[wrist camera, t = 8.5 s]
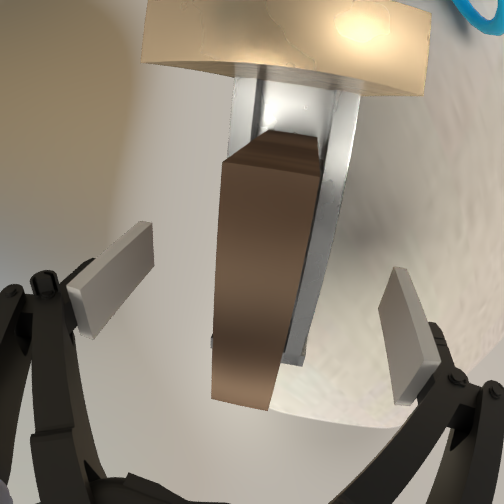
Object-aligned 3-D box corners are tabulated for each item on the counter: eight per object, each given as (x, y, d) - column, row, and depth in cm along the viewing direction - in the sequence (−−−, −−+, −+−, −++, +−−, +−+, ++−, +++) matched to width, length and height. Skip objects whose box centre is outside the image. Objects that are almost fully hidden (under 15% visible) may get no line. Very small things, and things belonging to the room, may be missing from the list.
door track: (243, 43, 16) (150, -13, 6) (364, 60, 16) (431, 13, 5) (219, 326, 27) (170, 444, 17) (304, 342, 26) (288, 470, 16)
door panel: (267, 129, 18) (222, 162, 10) (317, 137, 18) (319, 177, 9) (248, 292, 24) (211, 398, 15) (287, 300, 24) (267, 410, 15)
